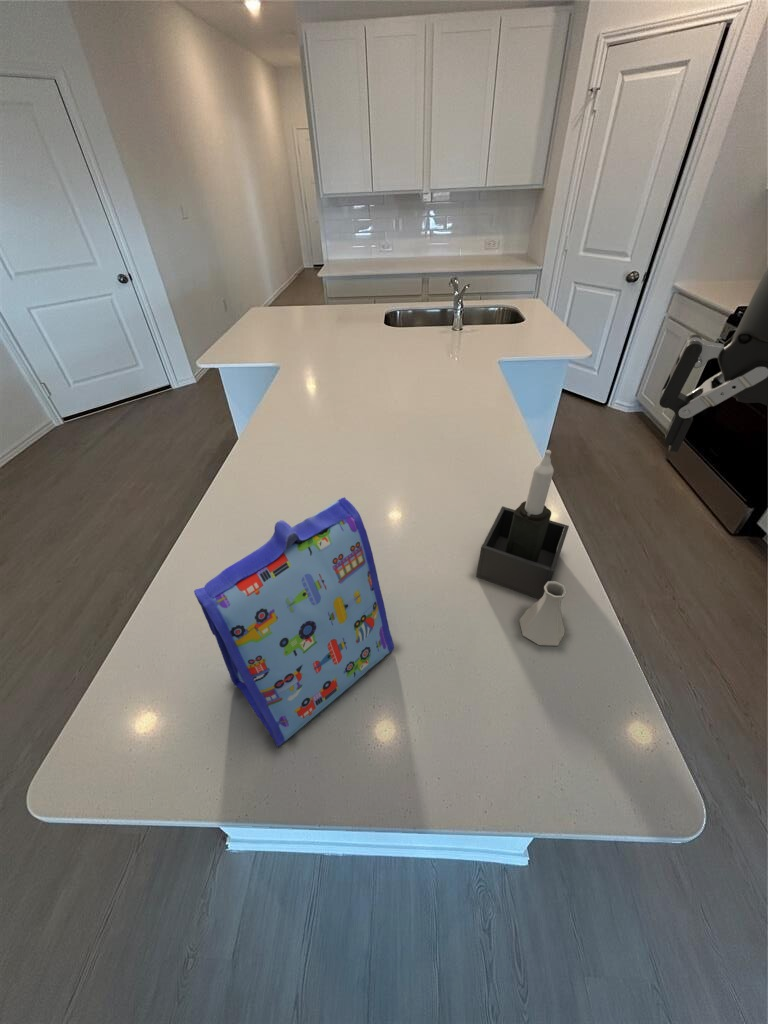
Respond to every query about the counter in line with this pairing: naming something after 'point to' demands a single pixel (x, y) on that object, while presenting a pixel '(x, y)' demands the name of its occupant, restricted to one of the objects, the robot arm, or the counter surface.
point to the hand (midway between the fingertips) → (723, 459)
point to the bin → (519, 558)
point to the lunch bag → (300, 617)
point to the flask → (545, 617)
